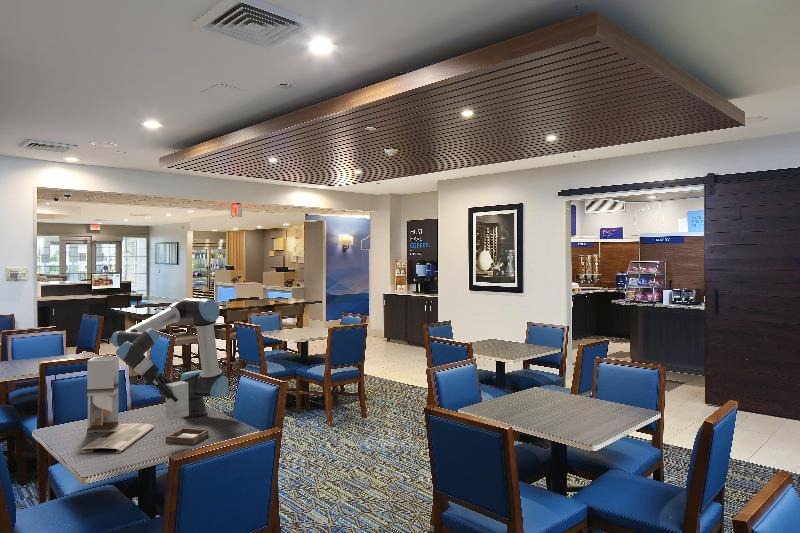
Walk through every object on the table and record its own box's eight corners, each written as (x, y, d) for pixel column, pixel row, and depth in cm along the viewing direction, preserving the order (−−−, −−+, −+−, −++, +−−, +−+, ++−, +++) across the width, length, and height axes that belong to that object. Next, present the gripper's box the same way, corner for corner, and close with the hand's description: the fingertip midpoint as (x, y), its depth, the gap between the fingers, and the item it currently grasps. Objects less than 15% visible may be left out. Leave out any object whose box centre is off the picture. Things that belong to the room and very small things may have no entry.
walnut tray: (182, 433, 269) (182, 427, 269) (208, 435, 267) (208, 429, 267) (165, 442, 256) (165, 436, 256) (192, 444, 254) (192, 438, 254)
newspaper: (118, 428, 278) (118, 423, 278) (158, 428, 279) (158, 423, 279) (78, 454, 241) (79, 447, 241) (124, 454, 242) (124, 447, 242)
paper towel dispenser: (86, 433, 269) (87, 360, 269) (93, 426, 279) (93, 357, 279) (112, 431, 272) (113, 359, 272) (118, 425, 282) (118, 356, 282)
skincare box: (182, 413, 260) (182, 380, 260) (189, 416, 256) (189, 382, 256) (164, 417, 254) (164, 383, 253) (172, 420, 250) (172, 385, 249)
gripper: (145, 370, 261) (181, 402, 266) (135, 381, 240) (174, 415, 244) (157, 359, 263) (193, 390, 267) (148, 368, 241) (187, 402, 245)
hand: (184, 402), depth 256 cm, fingers closed on skincare box, 10 cm apart
